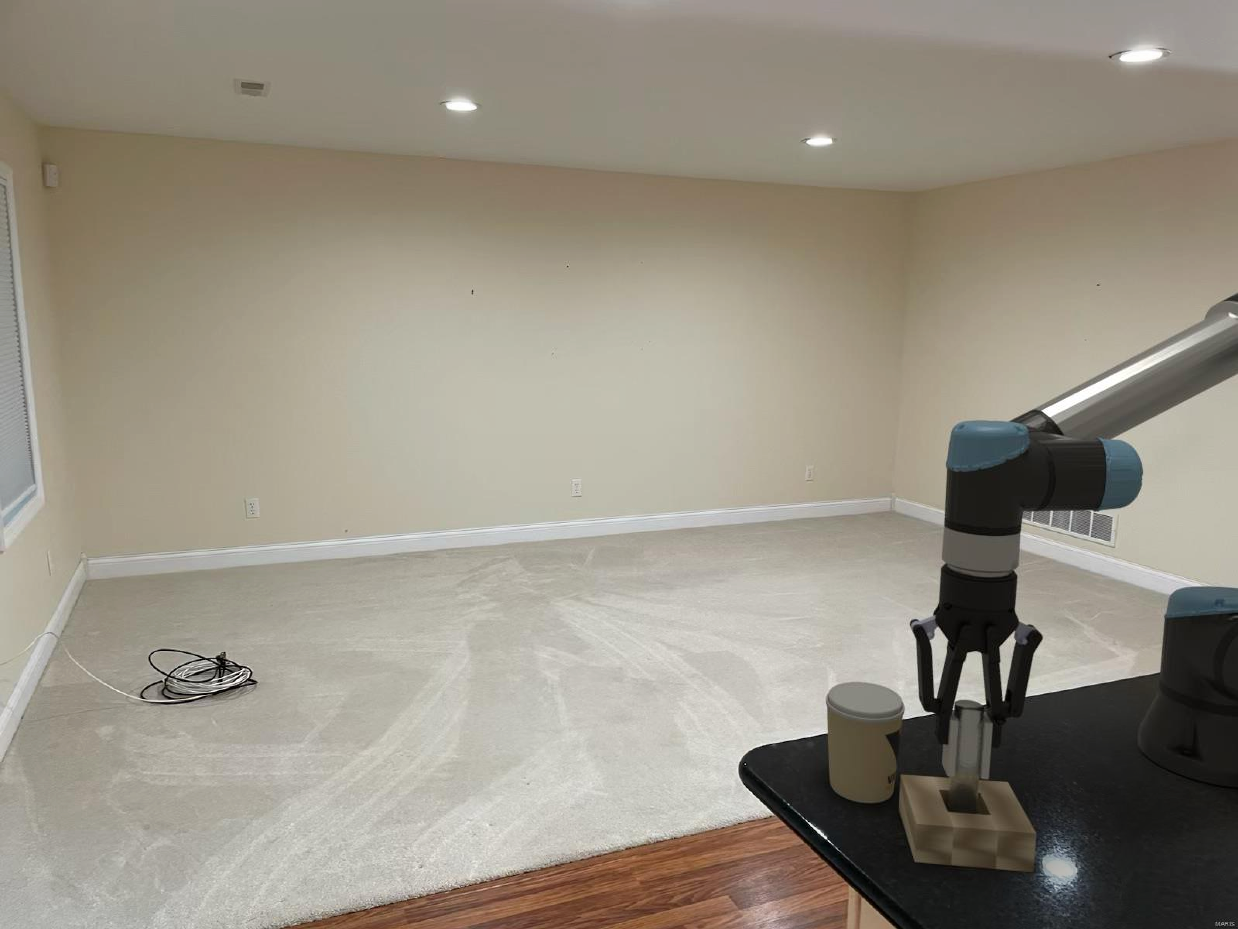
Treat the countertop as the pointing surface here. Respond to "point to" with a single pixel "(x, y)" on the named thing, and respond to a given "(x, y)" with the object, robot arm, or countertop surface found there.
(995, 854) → the hole block
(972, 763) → the peg
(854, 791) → the coffee cup
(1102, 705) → the countertop surface
